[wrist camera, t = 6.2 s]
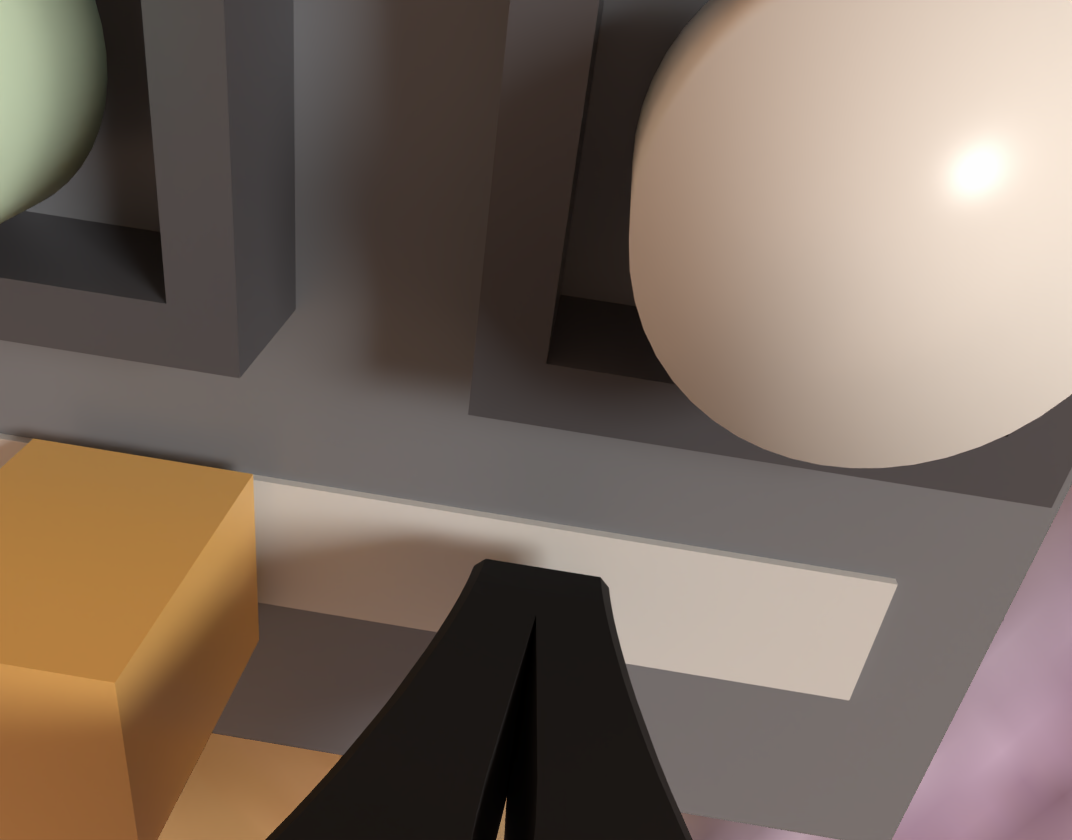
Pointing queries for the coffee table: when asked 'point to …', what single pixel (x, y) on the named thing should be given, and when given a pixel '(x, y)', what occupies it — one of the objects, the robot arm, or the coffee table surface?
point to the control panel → (487, 393)
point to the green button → (47, 96)
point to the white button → (860, 222)
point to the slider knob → (116, 634)
